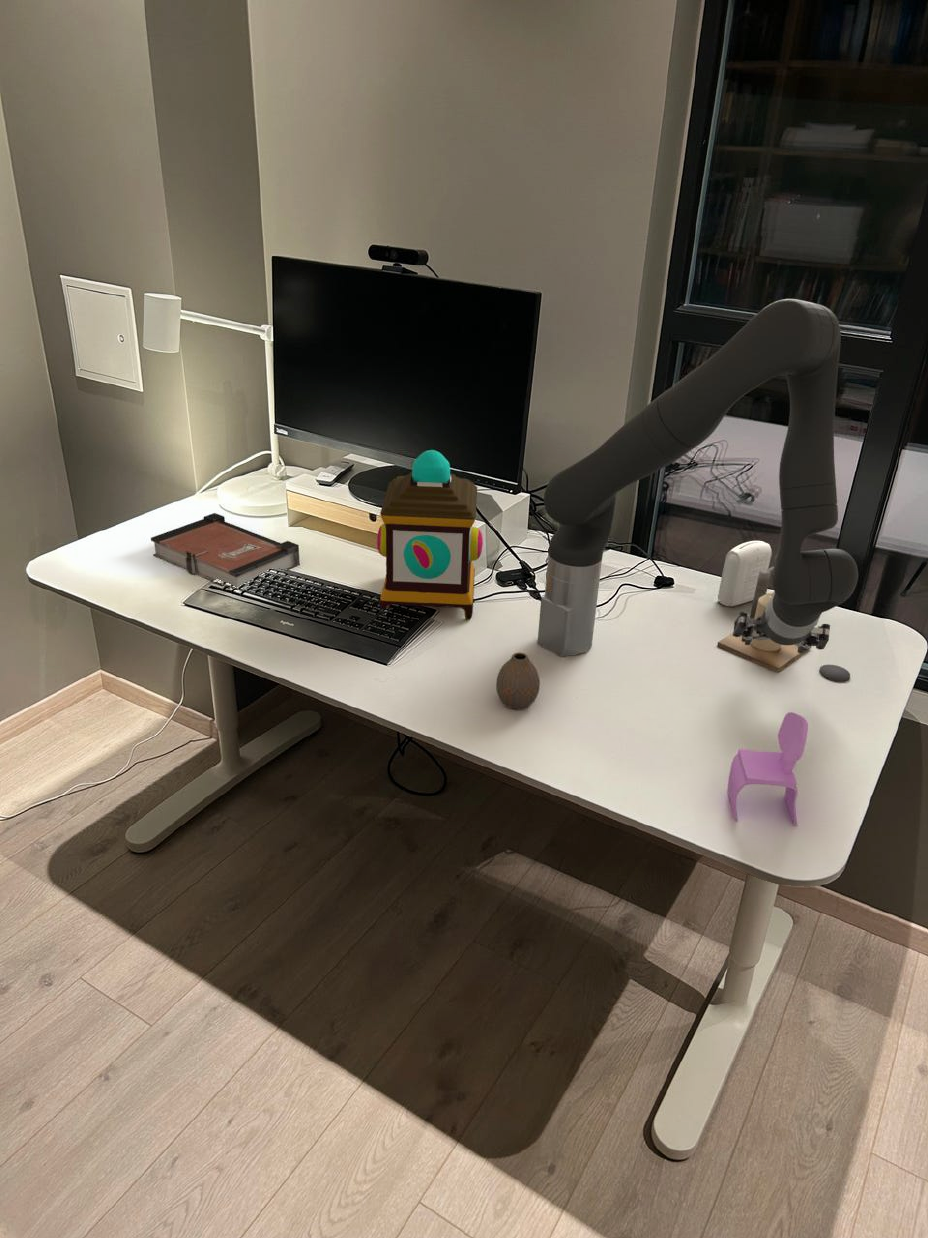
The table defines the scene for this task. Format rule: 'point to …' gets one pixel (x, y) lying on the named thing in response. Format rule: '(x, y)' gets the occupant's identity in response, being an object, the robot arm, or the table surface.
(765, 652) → the stand with wooden base
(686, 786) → the table surface
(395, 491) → the decorative lantern
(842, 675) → the pad
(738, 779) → the toy chair
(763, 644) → the candle
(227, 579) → the book
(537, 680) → the vase
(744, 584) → the photo printer
